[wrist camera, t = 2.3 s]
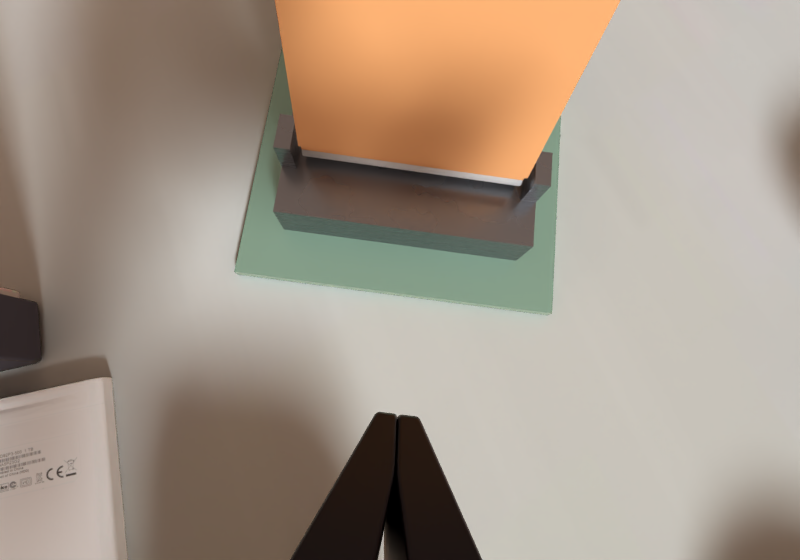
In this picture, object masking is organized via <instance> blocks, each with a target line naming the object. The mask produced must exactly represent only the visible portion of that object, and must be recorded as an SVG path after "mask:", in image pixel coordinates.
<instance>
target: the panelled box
mask: <svg viewBox="0 0 800 560" xmlns="http://www.w3.org/2000/svg"><path fill="white" fill-rule="evenodd" d="M40 361H41V347H40V332H39V318H38V307H37V303H35V302H33V301H29V300H25V299H20V296H19V292H18V291H15V290H11V289H7V288H3V287H0V371H5V370H9V369H14V368H18V367H22V366H27V365H31V364H35V363H38V362H40Z"/></svg>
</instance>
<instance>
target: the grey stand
mask: <svg viewBox="0 0 800 560" xmlns="http://www.w3.org/2000/svg"><path fill="white" fill-rule="evenodd" d="M273 148H274V151H275V153H276V155H277V157H278V160H279V162H280V164H281V167H282V168H281V173H280V178H279V183H278V188H277V193H276V198H275V203H274V208H273V212H274V214H275V216H276V217H277V219H278V221H279V222H280V224H281V225H282V227H283V229H284V230H292V231H299V232H307V233H314V234H321V235H329V236H336V237H344V238H351V239H359V240H366V241H373V242H381V243H388V244H396V245H403V246H410V247H418V248H425V249H433V250H440V251H447V252H455V253H462V254H470V255H477V256H484V257H492V258H499V259H507V260H514V261H516V260H518V259H519V258H520V257H521V256H523V255H524V254H525V253H526V252H528V251H529V250H530V249H531V248H532V247H533V245H534V227H535V209H536V202H537V201H538V200H539V199H540V197H541V196H542V195H543V194H544V193H545V192H546V191H547V190H548V189H549V188H550V187H551V176H552V155H553V153H551V152H544V151H542V152H541V154H540V156H539V157H538V159H537V161H536V163H535V165H534V167H533V169H532V171H531V173H530V175H529V177H528V178H524V180H523V181H522V184H521V185H520V186H514V185H507V184H500V183H493V182H486V181H479V180H472V179H465V178H457V177H450V176H443V175H436V174H429V173H422V172H415V171H408V170H400V169H393V168H386V167H379V166H372V165H365V164H358V163H351V162H343V161H336V160H329V159H322V158H315V157H308V156H303V155H302V149H301V146H298V141H297V135H296V129H295V123H294V116H293V113H292V115H285V114H280V116H279V120H278V125H277V130H276V135H275V140H274V145H273Z"/></svg>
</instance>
